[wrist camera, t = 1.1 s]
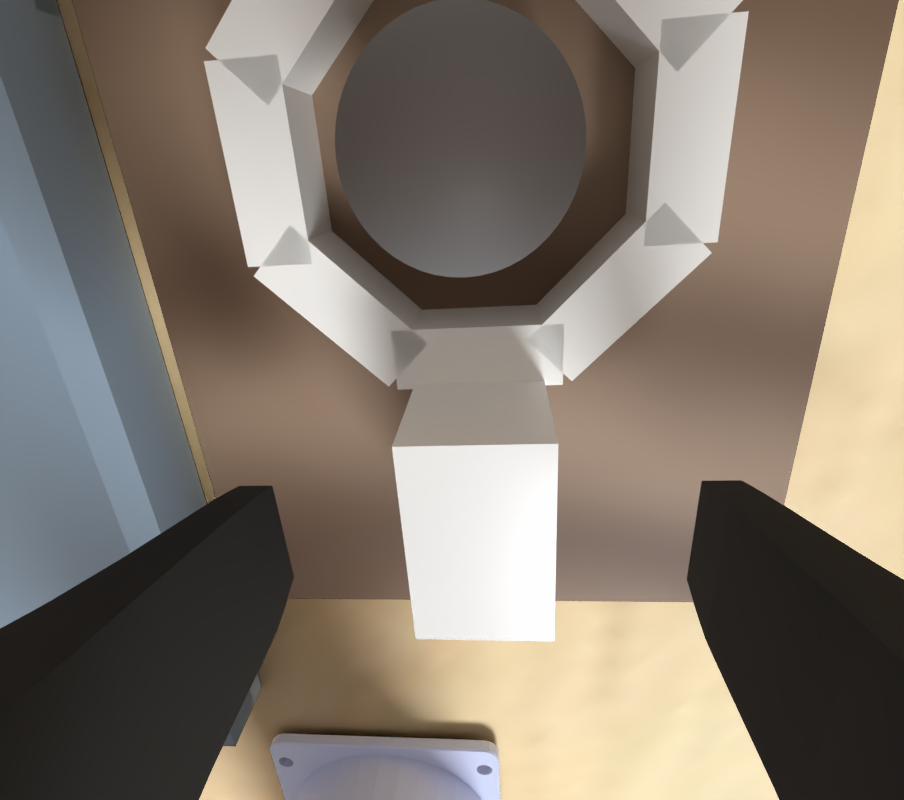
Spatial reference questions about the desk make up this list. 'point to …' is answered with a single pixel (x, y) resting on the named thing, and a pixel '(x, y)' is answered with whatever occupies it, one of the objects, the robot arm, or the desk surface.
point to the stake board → (611, 410)
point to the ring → (479, 328)
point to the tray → (74, 344)
